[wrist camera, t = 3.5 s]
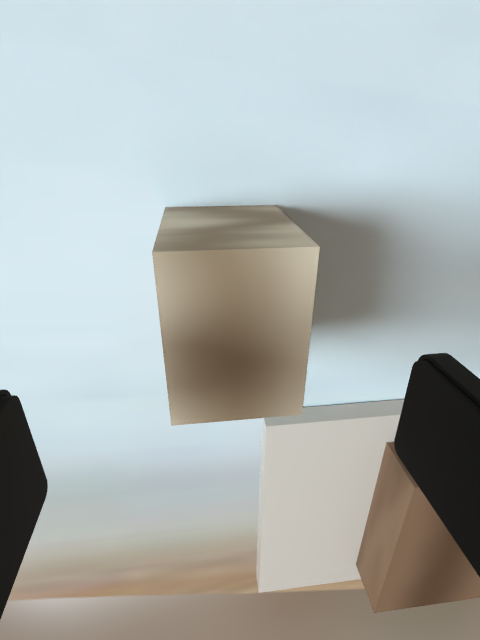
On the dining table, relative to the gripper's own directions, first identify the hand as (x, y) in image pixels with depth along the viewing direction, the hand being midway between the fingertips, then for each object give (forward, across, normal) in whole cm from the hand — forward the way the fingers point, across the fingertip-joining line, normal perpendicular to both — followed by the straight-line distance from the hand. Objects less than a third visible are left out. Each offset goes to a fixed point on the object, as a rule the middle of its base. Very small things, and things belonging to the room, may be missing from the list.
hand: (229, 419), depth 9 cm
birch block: (+9, -1, -1) cm, 9 cm away
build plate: (+9, -14, +15) cm, 22 cm away
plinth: (+7, -14, +15) cm, 22 cm away
